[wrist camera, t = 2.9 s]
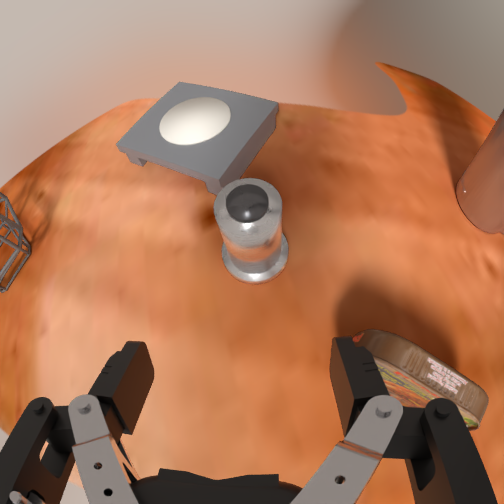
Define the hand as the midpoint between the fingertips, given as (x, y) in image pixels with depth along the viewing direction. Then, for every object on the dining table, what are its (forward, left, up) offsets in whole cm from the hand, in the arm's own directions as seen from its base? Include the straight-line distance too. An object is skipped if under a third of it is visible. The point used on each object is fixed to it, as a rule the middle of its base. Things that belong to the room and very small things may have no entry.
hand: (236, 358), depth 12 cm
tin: (-13, -4, -16) cm, 21 cm away
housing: (+6, -10, -15) cm, 19 cm away
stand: (+20, -21, -15) cm, 33 cm away
